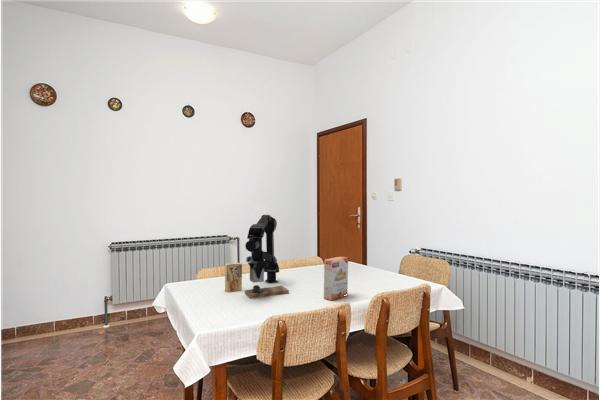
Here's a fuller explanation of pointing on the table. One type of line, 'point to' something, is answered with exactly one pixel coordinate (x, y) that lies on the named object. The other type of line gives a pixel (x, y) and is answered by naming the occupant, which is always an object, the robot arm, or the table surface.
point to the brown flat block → (266, 291)
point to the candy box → (233, 277)
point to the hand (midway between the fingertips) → (256, 277)
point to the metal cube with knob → (254, 277)
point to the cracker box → (335, 277)
